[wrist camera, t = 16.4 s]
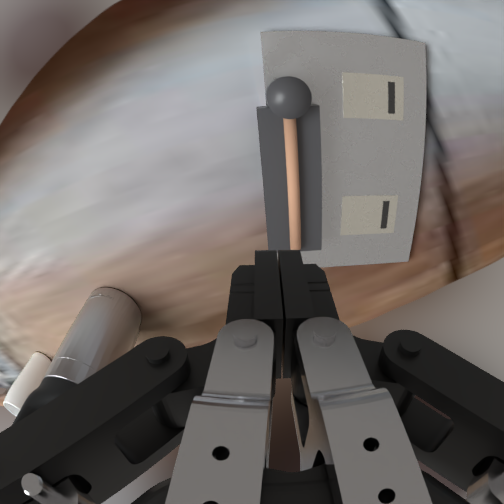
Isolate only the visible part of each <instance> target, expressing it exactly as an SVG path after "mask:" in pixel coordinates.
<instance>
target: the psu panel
mask: <svg viewBox="0 0 504 504" xmlns="http://www.w3.org/2000/svg"><path fill="white" fill-rule="evenodd" d="M261 44H262V56H263V69H264V82H265V95H266V90H267V87H268V86H269V84H270V83H271V82H272V81H273V80H275V79H277V78H279V77H286V76H291V77H296V78H299V79H301V80H302V81H304V82H305V83H306V84H307V86H308V87H309V89H310V91H311V94H312V102H311V104H317V105H319V106H320V128H321V159H322V250H315V251H300V252H301V256H302V261H303V264H316V265H318V266H319V267H334V266H349V265H365V264H379V263H394V262H407V261H408V260H409V255H410V250H411V245H412V239H413V234H414V228H415V222H416V215H417V208H418V201H419V194H420V185H421V177H422V167H423V156H424V143H425V125H426V49H425V43H423V42H417V41H412V40H406V39H400V38H393V37H385V36H377V35H368V34H358V33H345V32H326V31H273V32H261ZM266 106H268V103H267V100H266ZM277 259H278V253H277Z"/></svg>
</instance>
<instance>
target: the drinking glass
mask: <svg viewBox="0 0 504 504" xmlns="http://www.w3.org/2000/svg"><path fill="white" fill-rule="evenodd" d="M50 364H51V361H50V359H49V358H48V357H47V356H45V355H44V354H42V353H39V352H35V353H33V355H32V356H31V358H30V360H29V361H28V363H27V364H26V365H25V367H24V368H23V370H22V371H21V373H20V374H19V376H18V377H17V378H16V380H15V381H14V383H13V384H12V386H11V388H10V389H9V391H8V393H7V395H6V397H5V400H4V402H3V404H4V406H5V407H6V409H7V410H8V411H9V412H11V413H12V414H13V415H14V416H16V417H17V415H18V413H19V411H20V409H21V408H22V406H23V404H24V402H25V400H26V399H27V397H28V396H29V395H30V393H31V392H33V391H34V390H35V389H37V388H38V387H39V385H40V383H41V381H42V380H43V377H44V376H45V374H46V372H47V370H48V368H49V366H50Z"/></svg>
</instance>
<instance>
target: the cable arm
mask: <svg viewBox="0 0 504 504" xmlns="http://www.w3.org/2000/svg"><path fill="white" fill-rule="evenodd" d="M266 100H267V103H268V106H261V107H257V119H258V130H259V141H260V152H261V164H262V175H263V187H264V199H265V212H266V224H267V237H268V250H277V253H278V250H300V251H315V250H322V159H321V128H320V106H319V105H317V104H311V102H312V94H311V91H310V89H309V87H308V86H307V84H306V83H305V82H304V81H302V80H301V79H299V78H296V77H291V76H286V77H279V78H277V79H275V80H273V81H272V82H271V83H270V84H269V86H268V87H267V90H266Z"/></svg>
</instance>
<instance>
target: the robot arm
mask: <svg viewBox="0 0 504 504" xmlns="http://www.w3.org/2000/svg"><path fill="white" fill-rule="evenodd" d="M141 319H142V317H141V312H140V309H139V307H138V306H137V304H136V303H135V302H134V301H133V300H132V299H131V298H130V297H129V296H128V295H126V294H125V293H123V292H121V291H119V290H116V289H113V288H106V287H104V288H99V289H96V290H94V291H93V292H92V293H91V295H90V296H89V298H88V299H87V301H86V303H85V304H84V306H83V307H82V309H81V311H80V312H79V314H78V316H77V317H76V319H75V321H74V322H73V324H72V326H71V328H70V329H69V331H68V333H67V335H66V336H65V338H64V340H63V342H62V343H61V345H60V347H59V349H58V351H57V353H56V354H55V356H54V358H53V360H52V362H51V364H50V366H49V368H48V370H47V372H46V374H45V376H44V377H43V380H42V381H41V383H40V385H39V387H38V388H37V389H35V390H34V391H33V392H31V393H30V395H29V396H28V397H27V399H26V400H25V402H24V404H23V406H22V408H21V409H20V411H19V413H18V415H17V417H16V419H15V421H14V422H13V424H12V426H11V427H9V428H7V429H6V430H4V431H2V432H1V433H0V504H101V503H102V502H104V501H106V500H107V499H108V498H109V497H111V496H112V495H114V494H115V493H117V492H118V491H120V490H121V489H122V488H124V487H125V486H127V485H128V484H129V483H131V482H132V481H133V480H135V479H136V478H137V477H139V476H140V475H141V474H143V473H144V472H145V471H147V470H148V469H149V468H151V467H152V466H153V465H154V464H156V463H157V462H158V461H160V460H161V459H162V458H163V457H165V456H166V455H167V454H168V453H170V452H171V451H172V450H173V449H175V448H176V447H177V446H178V445H179V444H180V448H179V452H178V456H177V459H176V463H175V467H174V471H173V475H172V478H169V479H167V480H165V481H162V482H161V483H158V484H157V485H155V486H153V487H152V488H150V489H149V490H147V491H146V492H145V493H144V494H142V495H141V496H140V497H139V498H137V499H136V500H135V501H134V502H132V503H131V504H504V382H502V381H501V380H499V379H497V378H496V377H494V376H492V375H490V374H489V373H487V372H485V371H484V370H482V369H480V368H478V367H477V366H475V365H473V364H472V363H470V362H468V361H466V360H465V359H463V358H461V357H460V356H458V355H456V354H455V353H453V352H451V351H449V350H448V349H446V348H444V347H443V346H441V345H439V344H437V343H436V342H434V341H432V340H431V339H429V338H427V337H425V336H424V335H422V334H419V333H418V332H415V331H410V330H398V331H394V332H392V333H390V334H389V335H388V336H387V337H386V338H385V340H384V343H381V342H375V341H369V340H364V339H360V338H357V337H355V336H353V335H352V333H351V331H350V329H349V328H348V327H347V325H345V324H344V323H343V322H341V321H340V320H339V317H338V314H337V310H336V307H335V304H334V301H333V297H332V294H331V292H330V288H329V285H328V281H327V278H326V275H325V272H324V271H323V270H322V269H321V268H320V267H319V266H318V265H316V264H303V261H302V256H301V252H300V250H278V259H277V250H262V251H255V265H240V266H239V267H238V268H237V269H236V270H235V271H234V273H233V274H232V279H231V287H230V295H229V303H228V311H227V319H226V325H225V326H224V327H223V328H222V329H221V330H220V331H219V333H218V336H217V338H216V339H215V340H213V341H212V342H210V343H207V344H204V345H201V346H196V347H192V348H187V349H186V348H185V346H184V345H183V343H181V342H180V341H179V340H177V339H175V338H172V337H165V336H161V337H154V338H150V339H148V340H146V341H144V342H142V343H141V344H139V345H137V346H136V347H134V346H135V343H136V340H137V338H138V335H139V332H140V331H139V326H140V324H141ZM281 364H282V367H283V378H291V381H292V394H291V403H292V408H293V414H294V420H295V426H296V431H297V437H298V443H299V449H300V467H301V468H300V469H301V471H300V472H293V473H291V472H284V471H279V470H274V469H269V468H268V460H269V446H270V432H271V419H272V405H273V397H274V395H275V385H276V383H275V382H276V379H277V378H281ZM415 395H417V396H418V397H420V398H421V399H423V400H424V401H426V402H427V403H429V404H430V405H432V406H434V407H435V408H437V409H438V410H440V411H441V412H443V413H444V414H446V415H447V416H449V417H450V418H451V419H452V420H450V419H447V418H445V417H443V416H442V415H440V414H438V413H437V412H436V411H434V410H432V409H431V408H429V407H428V406H426V405H425V404H423V403H422V402H420V401H419V400H417V399H415V398H414V396H415ZM417 460H419V461H421V462H422V463H423V464H425V465H426V466H428V467H429V468H431V469H432V470H434V471H435V472H437V473H438V474H439V475H441V476H443V477H444V478H446V479H447V480H449V481H450V482H452V483H453V484H455V485H456V486H458V487H459V488H461V489H463V490H464V491H466V492H467V496H466V497H467V498H466V500H465V499H463V498H462V497H461V496H459V495H458V494H456V493H455V492H453V491H452V490H450V489H449V488H448V487H446V486H445V485H444V484H442V483H441V482H439V481H438V480H437V479H435V478H434V477H432V476H431V475H429V474H428V473H426V472H424V471H422V470H420V467H419V464H418V462H417Z"/></svg>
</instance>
